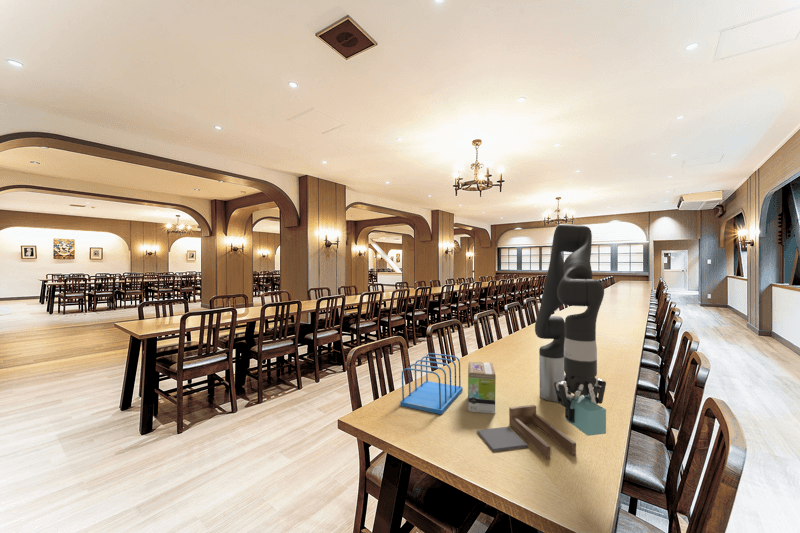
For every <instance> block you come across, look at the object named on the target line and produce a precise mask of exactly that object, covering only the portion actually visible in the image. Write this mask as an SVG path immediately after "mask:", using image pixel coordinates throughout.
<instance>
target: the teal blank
mask: <svg viewBox="0 0 800 533" xmlns="http://www.w3.org/2000/svg"><path fill="white" fill-rule="evenodd" d="M570 402H571V399H570ZM574 409H575V422H574V423H571V422H569V421H568V420H567V419H566V418H565V420H566V422H568V423H570V424H571V425H572V426H574V428H577V429H578V430H579V431H580V432H582V433H583V434H584V435H586V436H587V437H589V436H597V435H606V434H607V409H606V408H604V407H603V406H601V405H599V404H596V403H594V402H592V401H590V400H588V399H587V398H584V396H583V395H582V396H580V397H579V400H578V401H576V403H575V407H574Z"/></svg>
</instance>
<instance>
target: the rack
mask: <svg viewBox="0 0 800 533" xmlns="http://www.w3.org/2000/svg"><path fill="white" fill-rule="evenodd" d="M508 408H509V409H508V410H509V411H508V415H509V416H508V417H509V420H508V421H509V422H508V423H509V427H510V428H511V429H512V430H513V431H514V430H515V431H516V432H517V434H519V436H521V437H522V438H523V440H525V441H527V442H526V443H528V444H529V445H530V446H532V448H534V449H535V450H536V451H537V452H538V453H539V454H540V455H541V456H542V457H543V458H545V459H546V460H551V446H550V444H548V443H547V442H546V441H545V440H544V439H542V438H541V437H540V436H539V435H538V434H537V433H536V432H534V431H533V430H532V429H531V428H529V427H528V425H534V426H535V427H536V428H537V429H539V430H540V431H542V432H543V434H545V435H546V436H547V437H549V439H551V440H552V441H553V442H554V443H556V444H558V446H559V447H560V448H562V449H564V451H566V452H567V453H569V454H570V455H571V456H577V442H576V441H574V440H573V439H571V437H568V435H566V434H565V433H564V432H562V431H561V430H560V429H558V428H557V427H555V425H552V424H551V423H550V422H549V421H547V420H546V419H544V418H543V417H542V416H540V415H539V414H538V413H537V406H536V404H529V405H528V404H527V405H519V406H509V407H508Z"/></svg>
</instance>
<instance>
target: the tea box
mask: <svg viewBox="0 0 800 533" xmlns="http://www.w3.org/2000/svg"><path fill="white" fill-rule="evenodd" d="M467 373H468V374H467V397H468V398H467V400H468V401H467V403H468V412H473V413H482V414H483V413H484V414H495V413H496V378H497V376H496V371H495V368H494V364H493V363H492V362H482V361H479V362H478V361H468V370H467Z"/></svg>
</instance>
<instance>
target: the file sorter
mask: <svg viewBox="0 0 800 533" xmlns="http://www.w3.org/2000/svg"><path fill="white" fill-rule="evenodd" d="M430 355H432V356H430ZM433 355H434V356H433ZM437 356H442V357H437ZM443 357H448V358H443ZM449 357H450V358H455V359H456V360H457V362H458V385H457V365H456V363H455V361H454V360H453V359H450V358H449ZM424 359H425V360H424ZM428 359H433V360H441V361H448V362H451V363H452V364H453V365H454V366H453V367H454V385H453V384H452V368H451V366H450V365H449V364H448V363H446V362H441V361H433V360H428ZM418 362H420V364H419V363H418ZM423 362H424V363H425V364H423ZM428 363H431V364H437V365H444V366H446V367H447V368H448V370H449V371H448V372H449V384H448V383H447V373H446V371H445V369H444V368H442V367H440V366H436V365H435V366H433V365H428ZM412 366H414V368H412ZM417 366H418V367H420V369H419V368H417ZM424 367H425V369H423V368H424ZM428 368H432V369H436V370H437V369H439V370H441V371H442V372H443V373H444V374H443V375H444V383H441V377H440V375H439V374H438V373H437V372H436V371H431V370H428ZM406 370H407V371H408V393H409V394H407V395H406V396H405V390H404V372H405V371H406ZM411 371H414V390H413V391H412V390H411V389H412V388H411ZM417 372H420V385H419V386H418V387H417ZM423 373H425V378H426V380H425V381H424V382H423ZM429 374H434V375H435V376H437V379H438V382H435V381H430V380H428V379H429V378H428V375H429ZM401 390H402V391H401V392H402V393H401V394H402V395H401V396H402V397H401V398H402V400H400V401H399V404H400V406H401V407H405V408H411V409H415V410H420V411H424V412H429V413H433V414H439V415H443V414H444V412H445V411H446V410H447V409H448V408H449V407H450V405H452V404H453V402H454V401H455V400H457V398H458V396H459V395H461V393H462V392H463V390H464V389H463V386H461V361H460V358H459V357H458V356H456V355H450V354H443V353H436V352H435V353H434V352H429V353H428V354H426V356H425V355H424V356H423V357H422V358H420V359H418V360H416V361H415V363H412V364H410V365H409V366H408V367H406V368H404V369H402V371H401Z"/></svg>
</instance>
